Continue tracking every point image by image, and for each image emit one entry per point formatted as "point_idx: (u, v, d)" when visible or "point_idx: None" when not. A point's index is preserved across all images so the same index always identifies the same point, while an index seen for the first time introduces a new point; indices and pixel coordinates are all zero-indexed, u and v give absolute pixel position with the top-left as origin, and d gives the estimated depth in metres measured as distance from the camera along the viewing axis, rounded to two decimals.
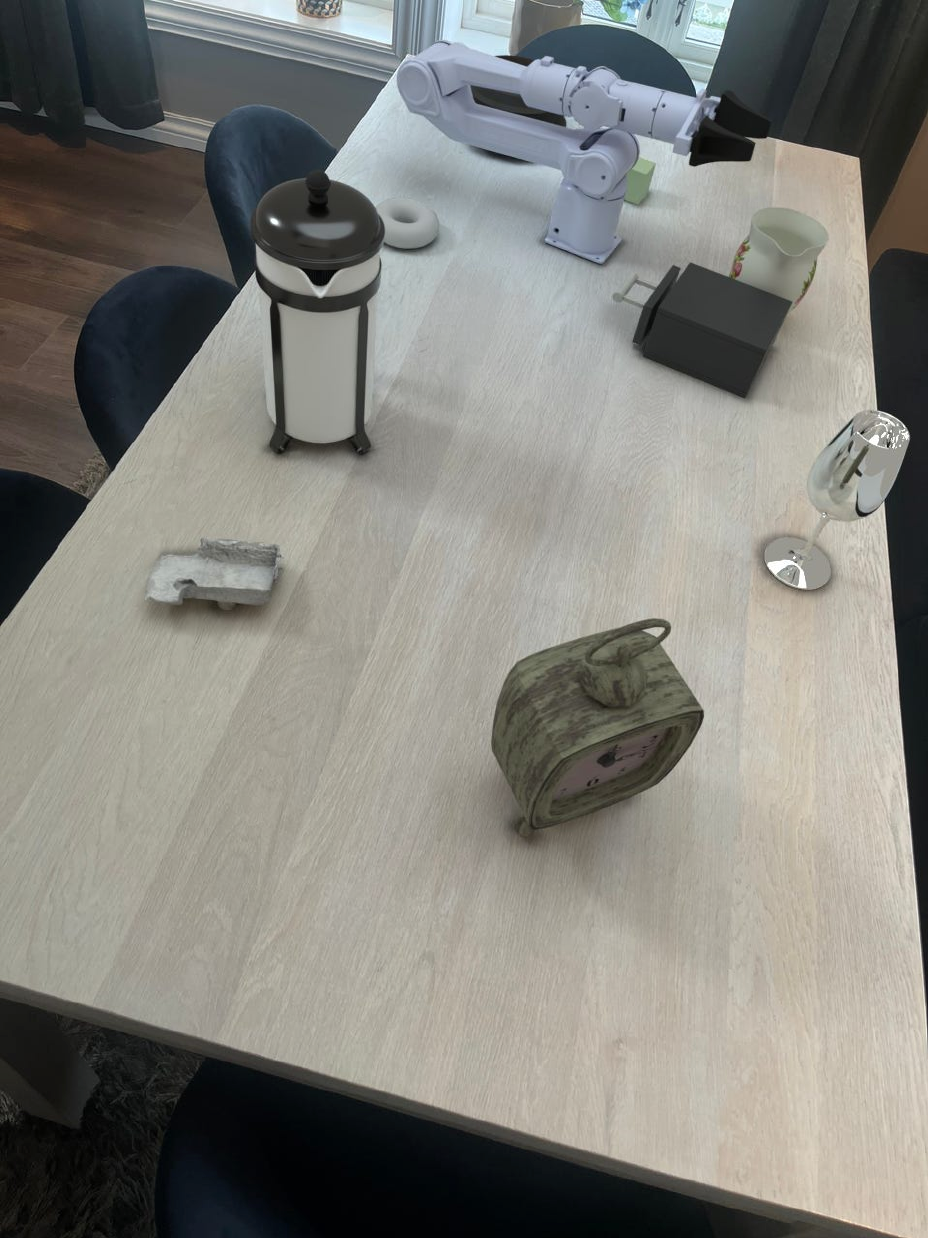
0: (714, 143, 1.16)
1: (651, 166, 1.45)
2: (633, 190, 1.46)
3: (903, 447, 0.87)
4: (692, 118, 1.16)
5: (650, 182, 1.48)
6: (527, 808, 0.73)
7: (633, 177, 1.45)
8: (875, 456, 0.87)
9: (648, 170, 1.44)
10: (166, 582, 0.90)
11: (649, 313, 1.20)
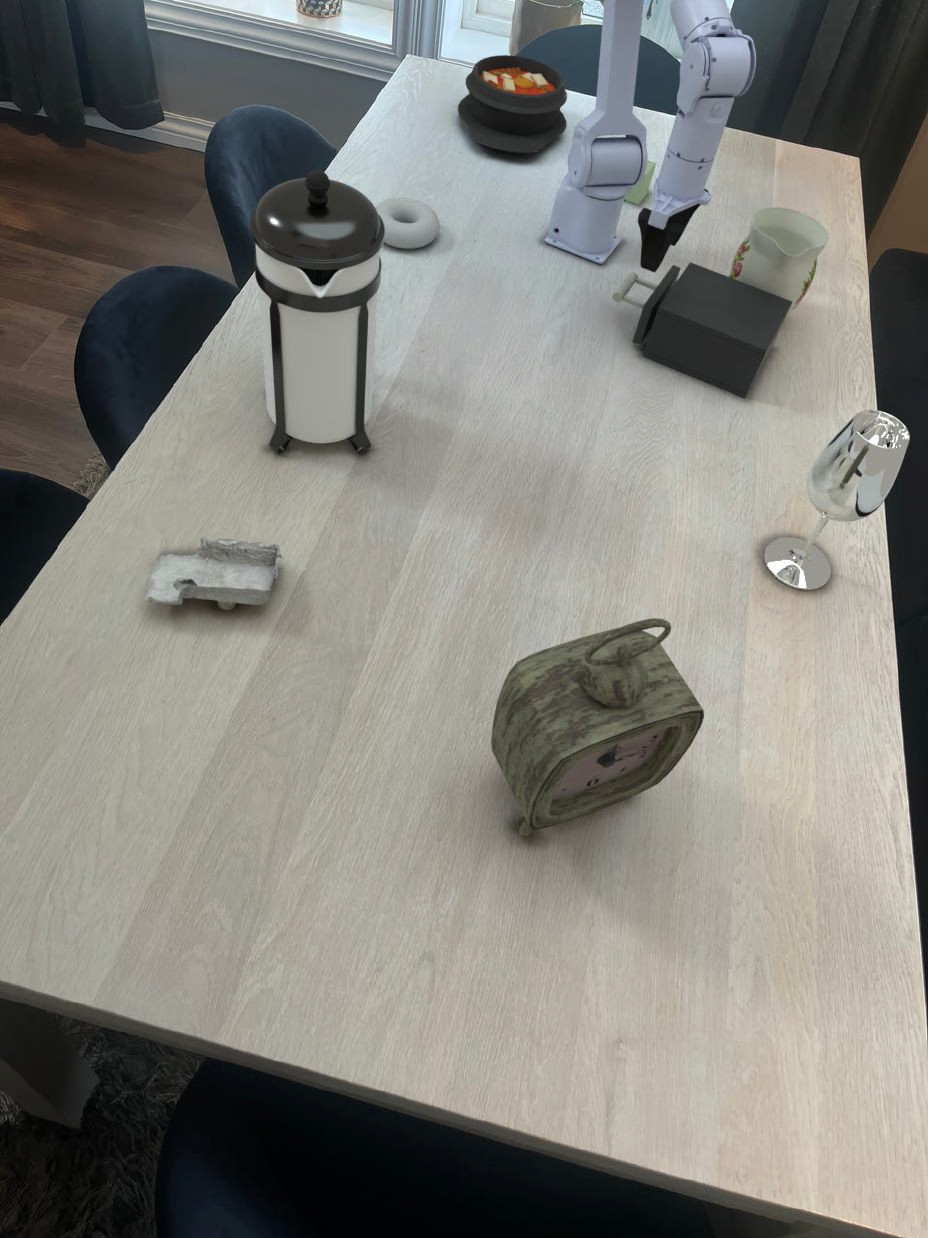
0: (658, 235, 1.13)
1: (651, 166, 1.45)
2: (633, 190, 1.46)
3: (903, 447, 0.87)
4: (683, 209, 1.11)
5: (650, 182, 1.48)
6: (527, 808, 0.73)
7: None
8: (875, 456, 0.87)
9: (648, 170, 1.44)
10: (166, 582, 0.90)
11: (649, 313, 1.20)
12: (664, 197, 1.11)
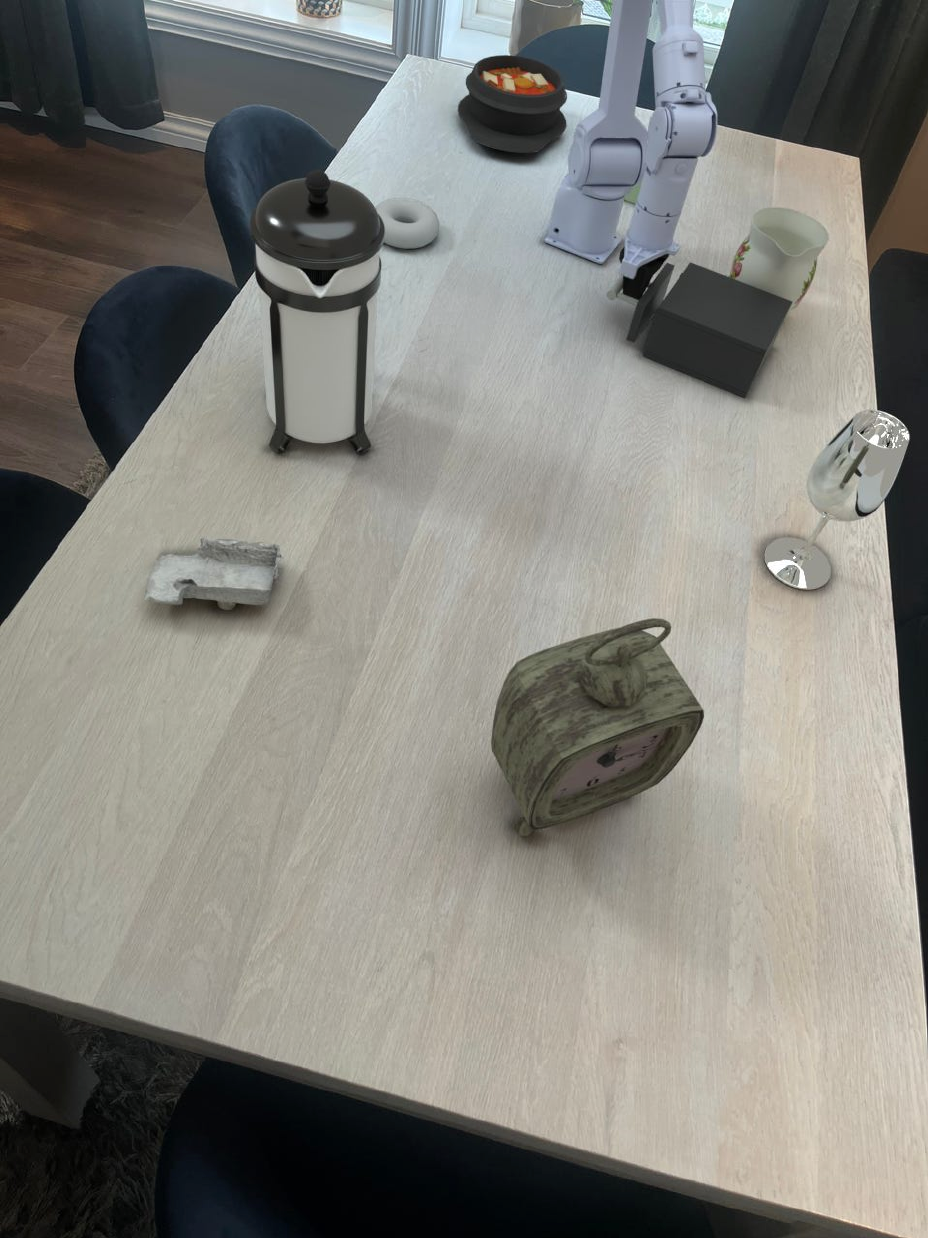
0: (638, 270, 1.22)
1: None
2: (633, 190, 1.46)
3: (903, 447, 0.87)
4: (652, 259, 1.17)
5: None
6: (527, 808, 0.73)
7: None
8: (875, 456, 0.87)
9: None
10: (166, 582, 0.90)
11: (642, 310, 1.20)
12: (635, 248, 1.17)
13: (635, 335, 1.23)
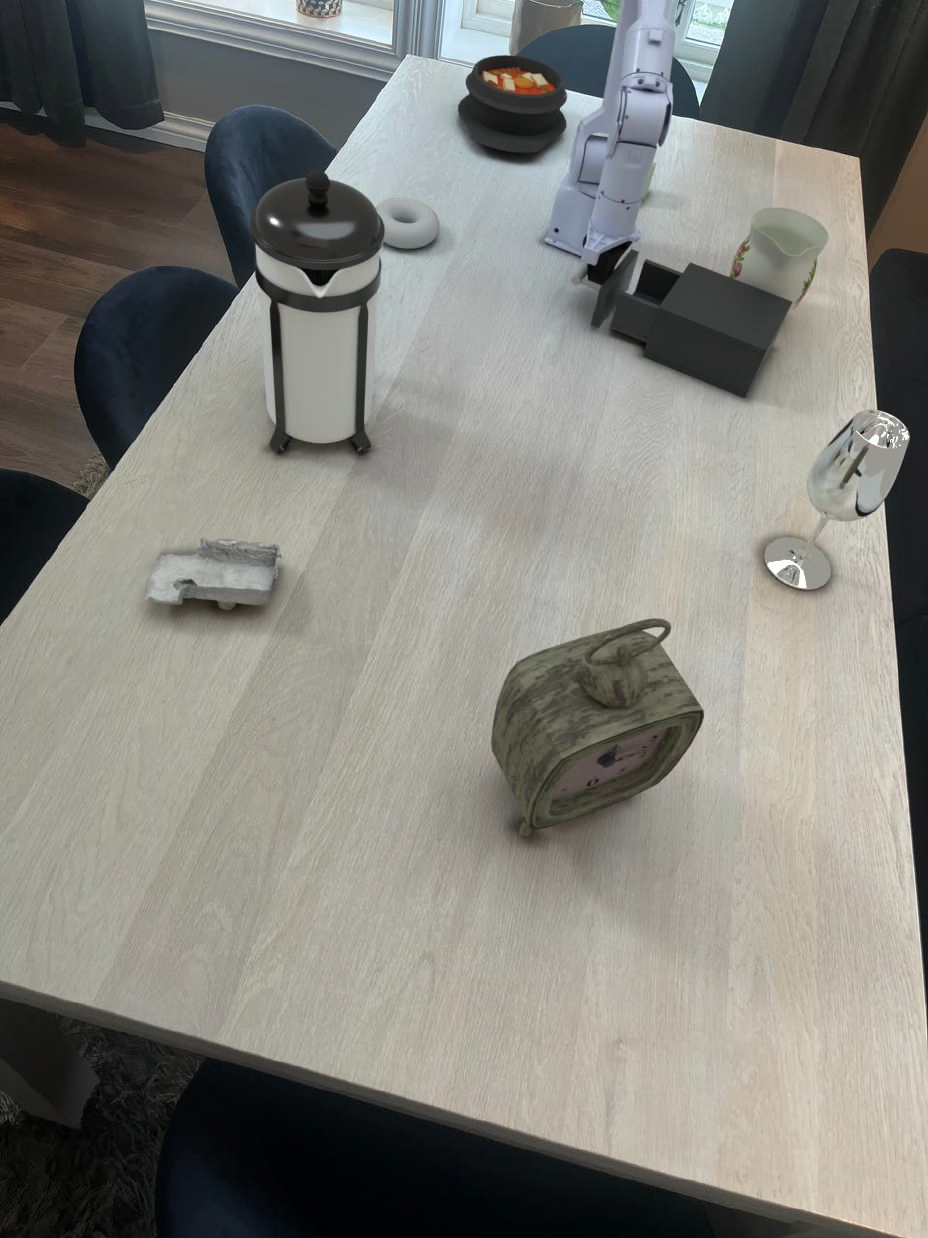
0: (602, 257, 1.23)
1: None
2: None
3: (903, 447, 0.87)
4: (614, 246, 1.18)
5: (650, 182, 1.48)
6: (527, 808, 0.73)
7: None
8: (875, 456, 0.87)
9: None
10: (166, 582, 0.90)
11: (606, 296, 1.21)
12: (597, 235, 1.18)
13: (599, 320, 1.24)
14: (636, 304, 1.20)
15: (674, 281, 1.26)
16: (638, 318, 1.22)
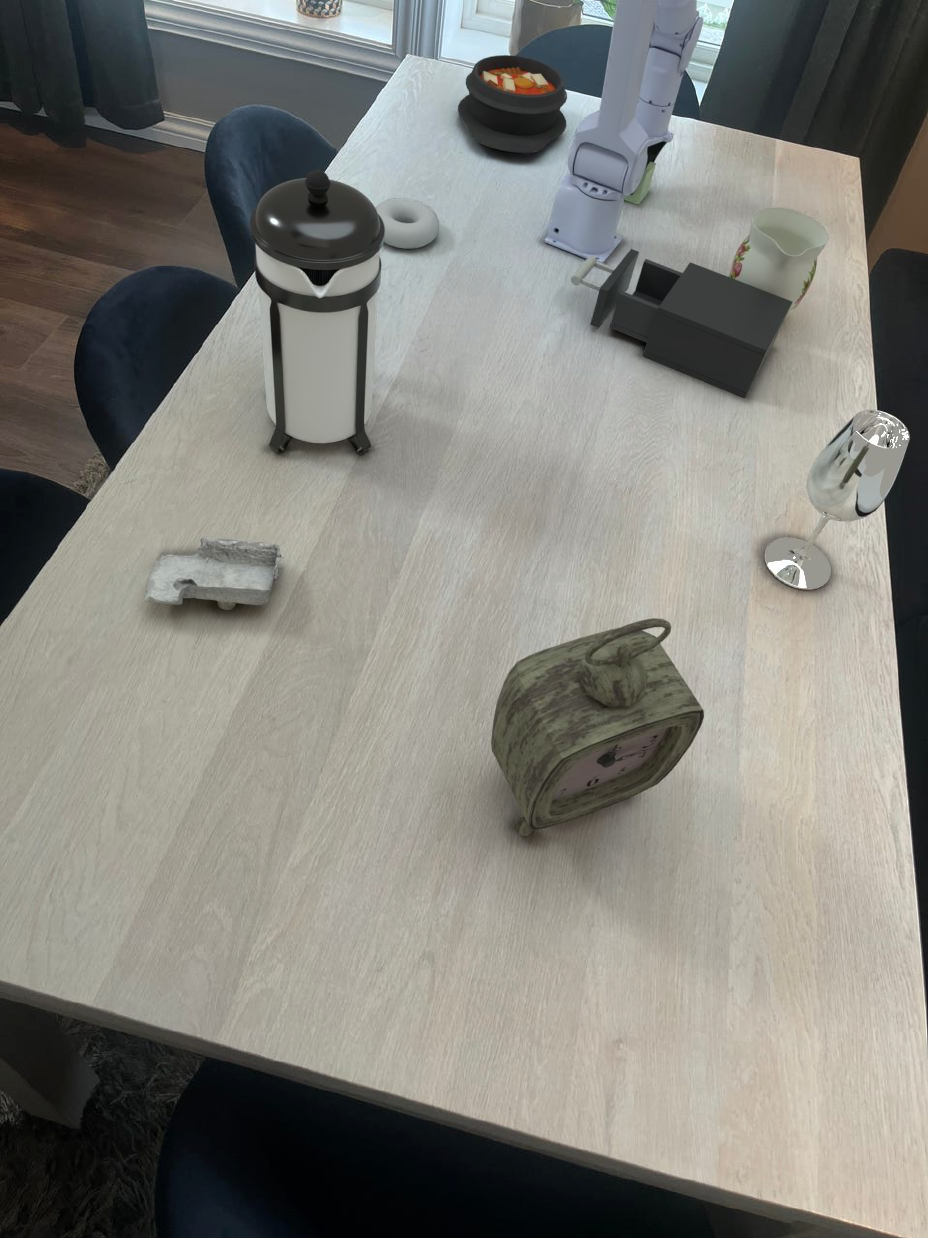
0: None
1: (651, 166, 1.45)
2: None
3: (903, 447, 0.87)
4: (650, 144, 1.39)
5: (650, 182, 1.48)
6: (527, 808, 0.73)
7: None
8: (875, 456, 0.87)
9: (648, 170, 1.44)
10: (166, 582, 0.90)
11: (605, 295, 1.21)
12: None
13: (599, 320, 1.24)
14: (636, 304, 1.20)
15: (674, 281, 1.26)
16: (638, 318, 1.22)
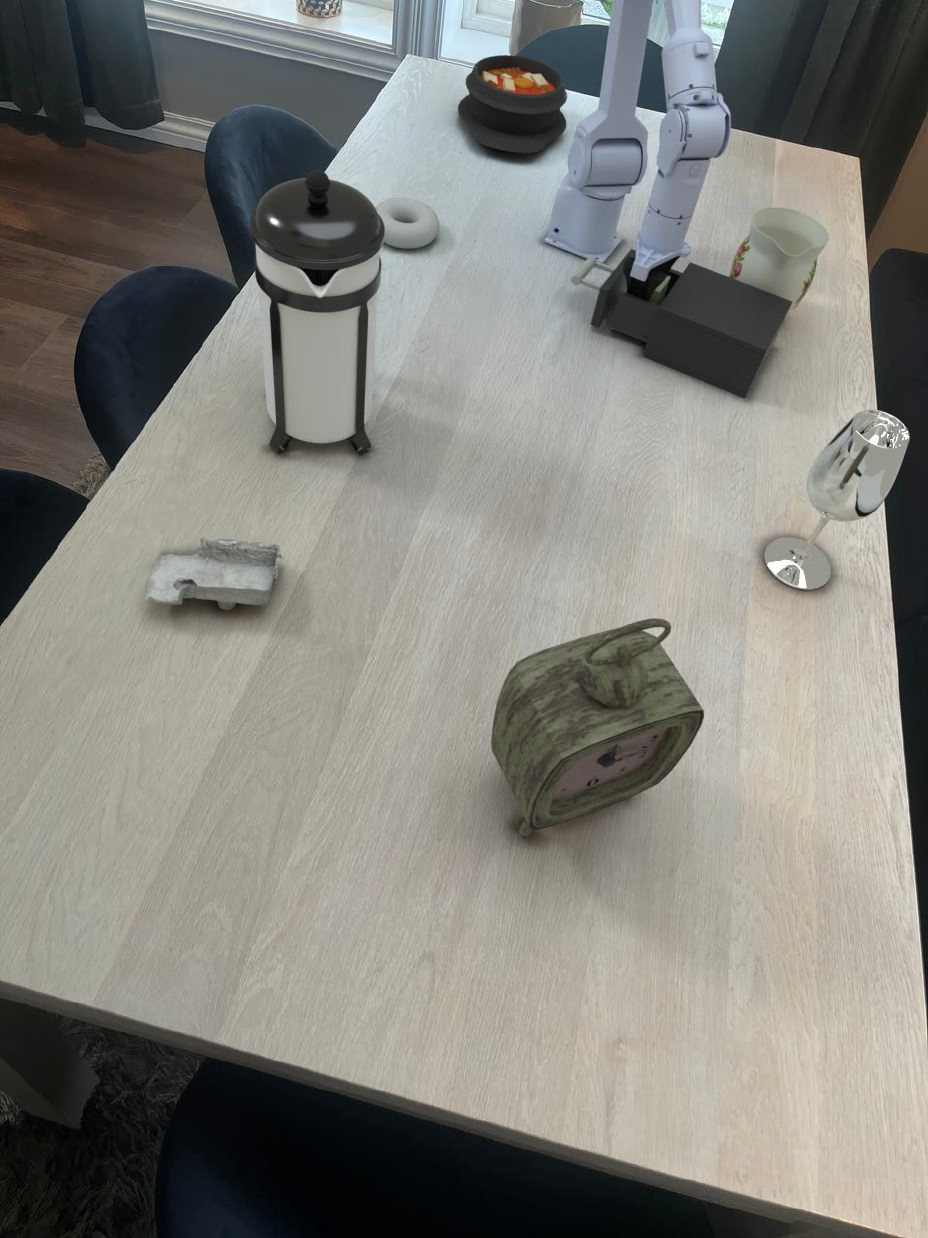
0: (642, 282, 1.20)
1: (665, 281, 1.22)
2: None
3: (903, 447, 0.87)
4: (664, 261, 1.16)
5: (663, 297, 1.26)
6: (527, 808, 0.73)
7: None
8: (875, 456, 0.87)
9: (662, 287, 1.22)
10: (166, 582, 0.90)
11: (605, 295, 1.21)
12: (646, 250, 1.17)
13: (599, 320, 1.24)
14: (636, 304, 1.20)
15: (674, 281, 1.26)
16: (638, 318, 1.22)
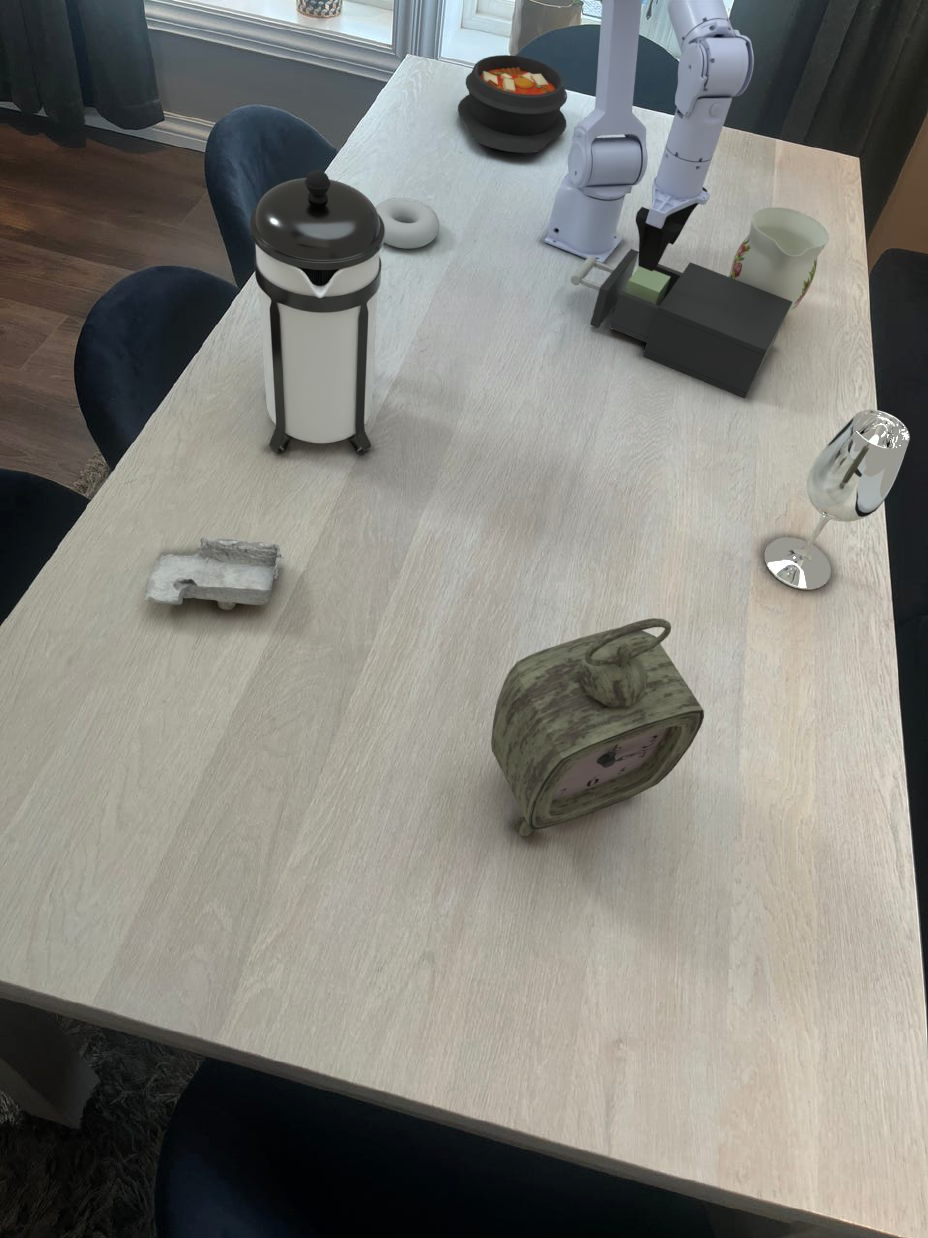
0: (656, 234, 1.14)
1: (665, 281, 1.22)
2: None
3: (903, 447, 0.87)
4: (681, 208, 1.11)
5: (663, 297, 1.26)
6: (527, 808, 0.73)
7: (644, 294, 1.22)
8: (875, 456, 0.87)
9: (661, 286, 1.22)
10: (166, 582, 0.90)
11: (605, 295, 1.21)
12: (662, 196, 1.12)
13: (599, 320, 1.24)
14: (636, 304, 1.20)
15: (674, 281, 1.26)
16: (638, 318, 1.22)
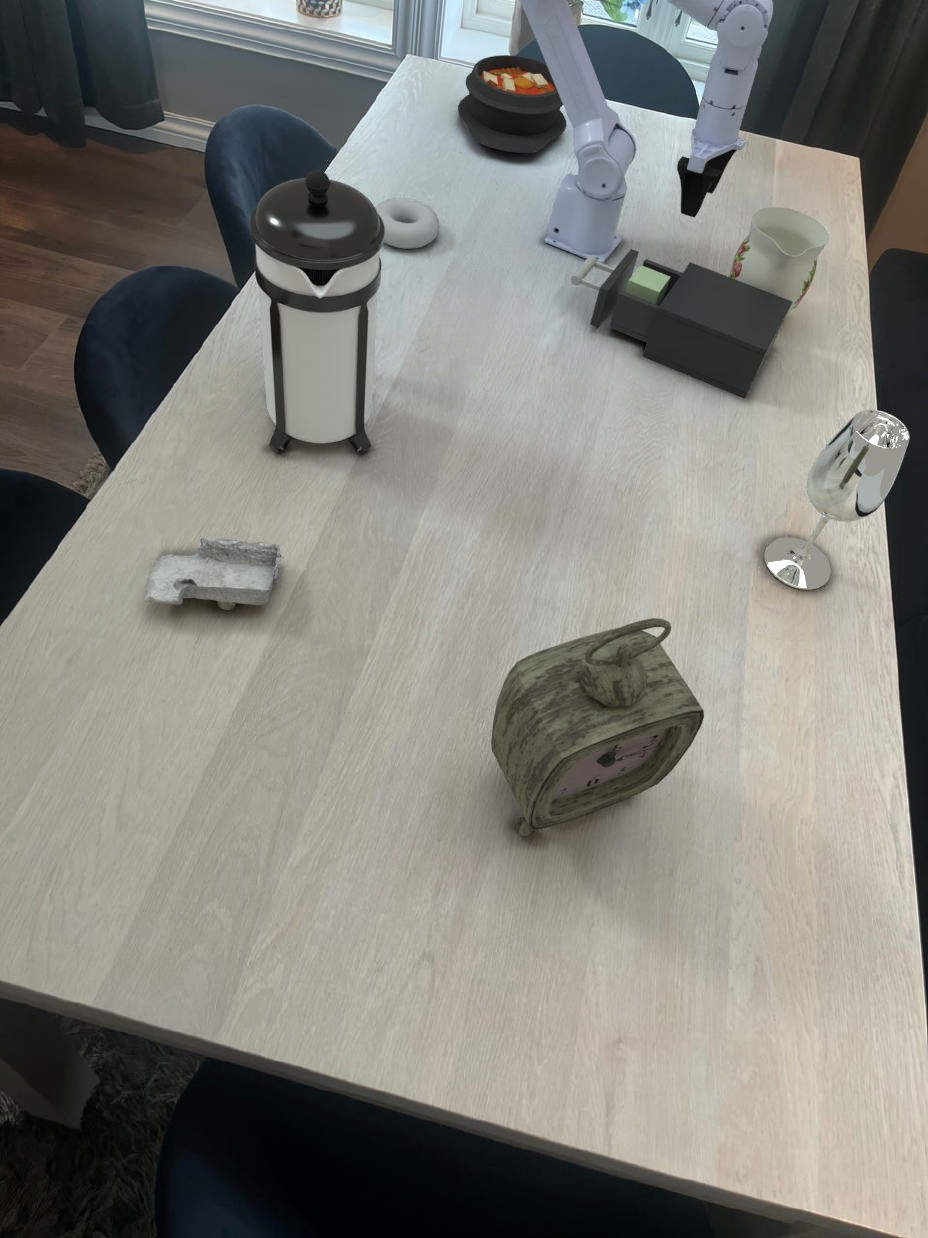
0: (696, 180, 1.23)
1: (665, 281, 1.22)
2: None
3: (903, 447, 0.87)
4: (719, 154, 1.20)
5: (663, 297, 1.26)
6: (527, 808, 0.73)
7: (644, 294, 1.22)
8: (875, 456, 0.87)
9: (661, 286, 1.22)
10: (166, 582, 0.90)
11: (605, 295, 1.21)
12: (701, 145, 1.21)
13: (599, 320, 1.24)
14: (636, 304, 1.20)
15: (674, 281, 1.26)
16: (638, 318, 1.22)
